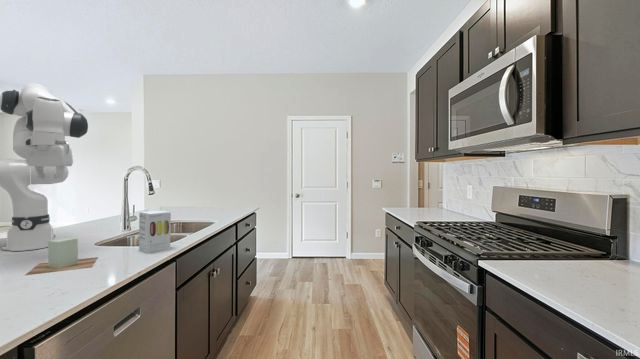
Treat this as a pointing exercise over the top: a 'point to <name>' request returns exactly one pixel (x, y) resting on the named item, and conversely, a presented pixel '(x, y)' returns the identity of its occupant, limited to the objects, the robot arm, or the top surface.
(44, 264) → the walnut board
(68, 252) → the sage green eraser
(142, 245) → the supplement box
